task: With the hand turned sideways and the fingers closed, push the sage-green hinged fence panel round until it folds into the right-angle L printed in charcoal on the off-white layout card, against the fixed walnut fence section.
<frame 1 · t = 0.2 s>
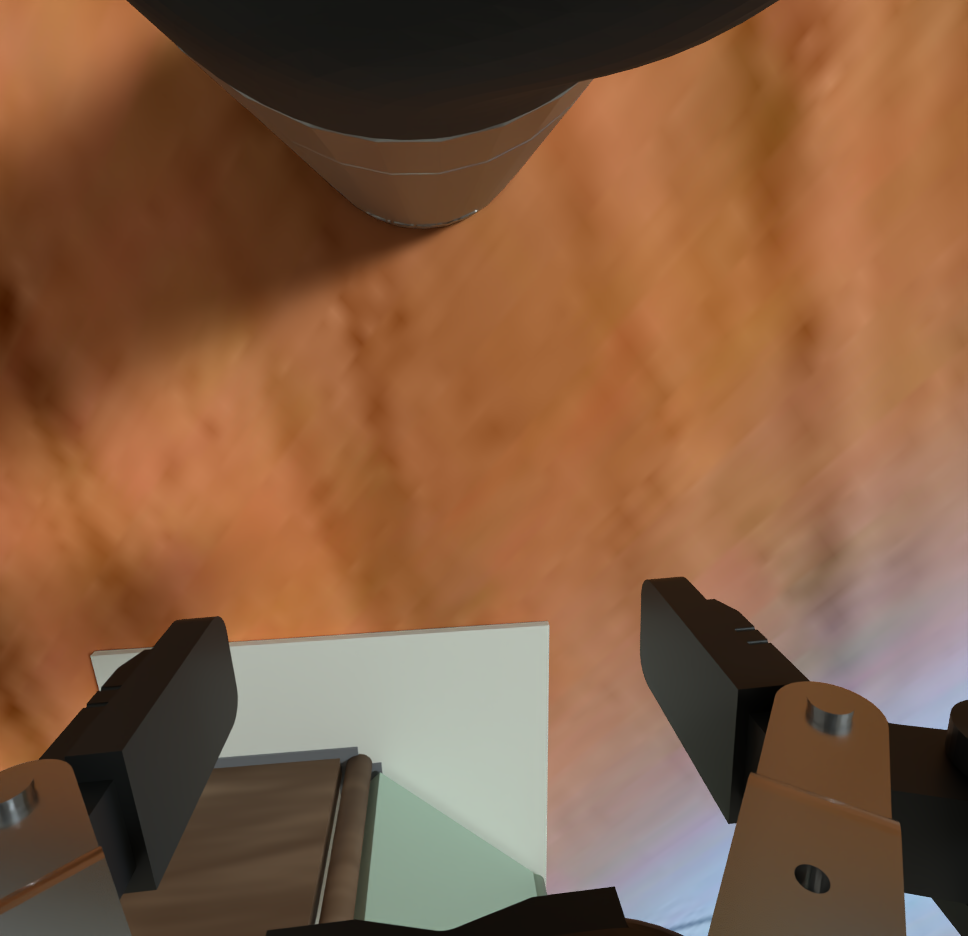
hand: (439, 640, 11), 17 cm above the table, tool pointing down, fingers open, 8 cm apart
fence fixed: (211, 886, 26), on the layout card
layout card: (348, 808, 34), on the table
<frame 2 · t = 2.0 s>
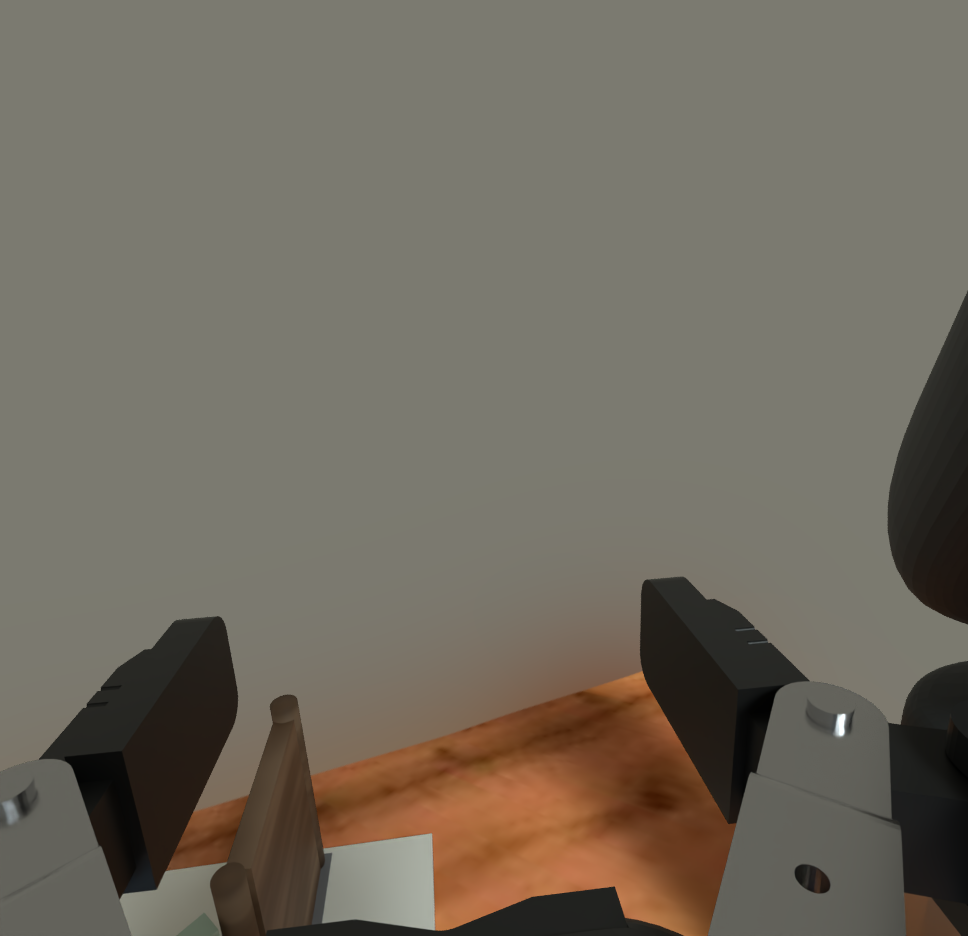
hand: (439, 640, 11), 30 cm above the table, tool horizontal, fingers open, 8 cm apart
fence fixed: (279, 868, 33), on the layout card
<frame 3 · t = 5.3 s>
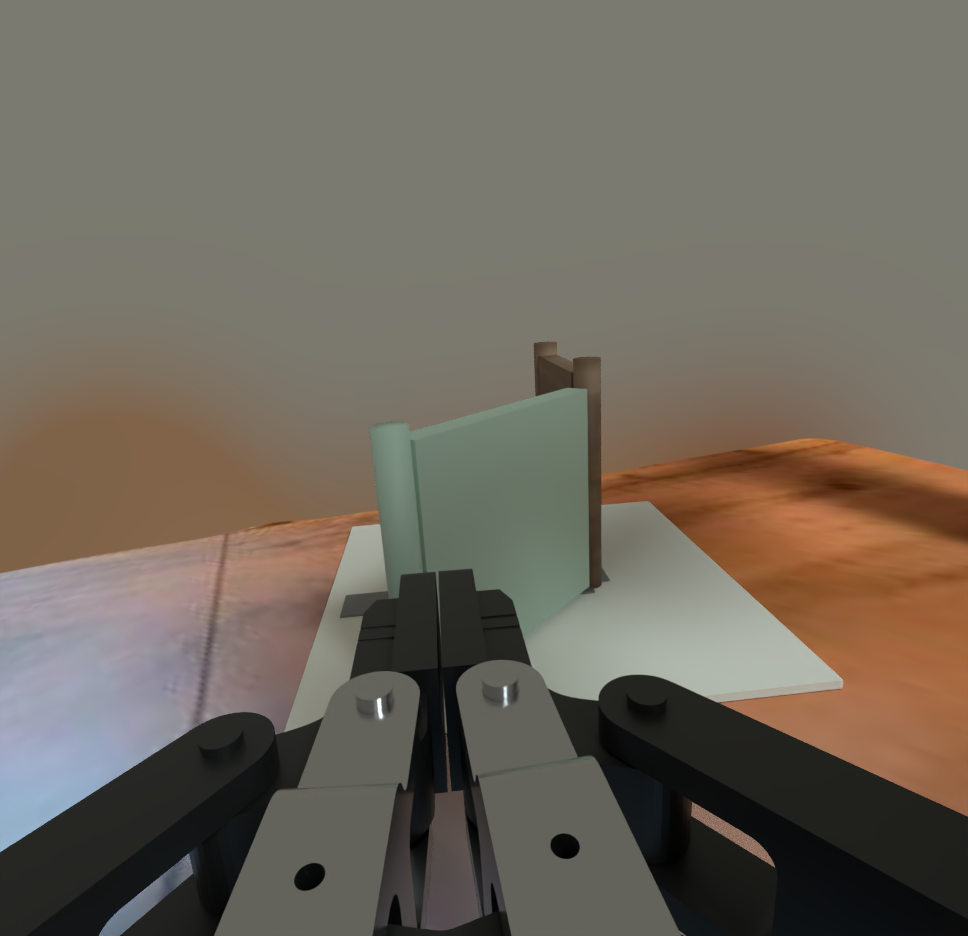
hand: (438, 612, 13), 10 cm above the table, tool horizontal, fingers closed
fence gate: (501, 525, 27), point 7 cm above the table, hinge at 45.0°
fence fixed: (564, 451, 38), on the layout card
layout card: (526, 587, 35), on the table
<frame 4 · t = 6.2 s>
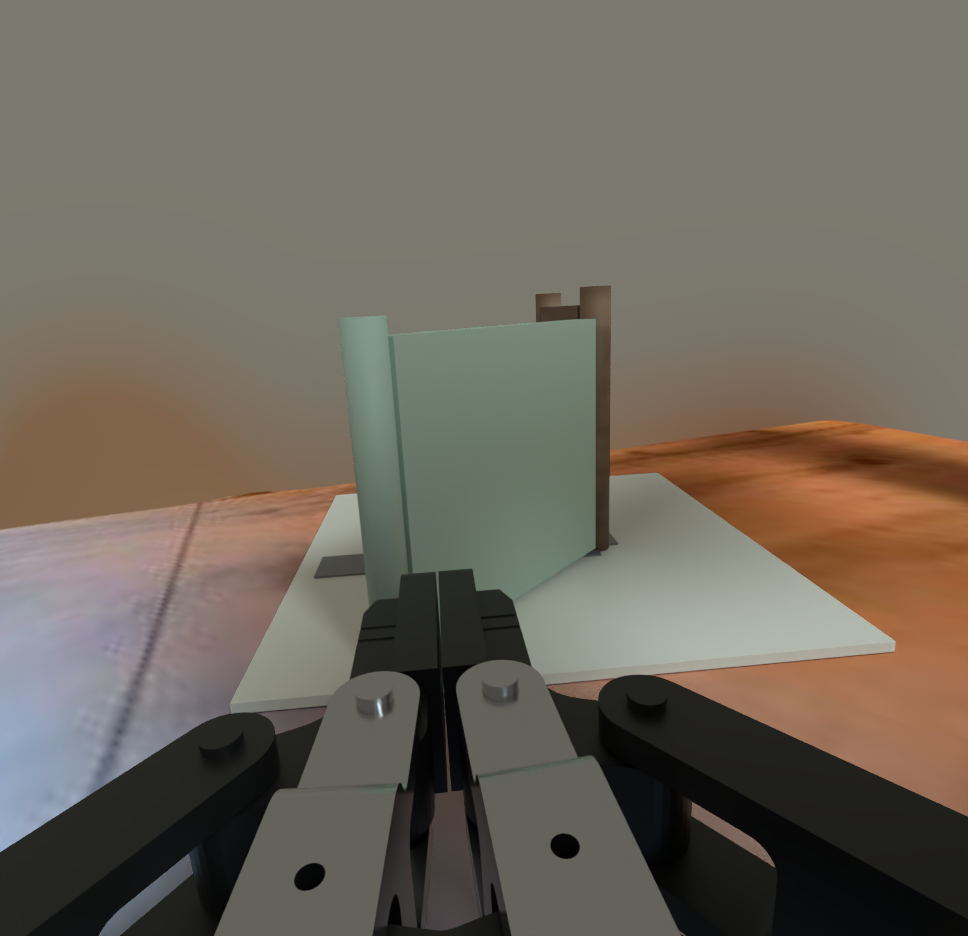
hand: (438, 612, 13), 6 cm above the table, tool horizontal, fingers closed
fence gate: (496, 462, 23), point 7 cm above the table, hinge at 45.0°
fence fixed: (568, 406, 35), on the layout card
layout card: (524, 551, 31), on the table
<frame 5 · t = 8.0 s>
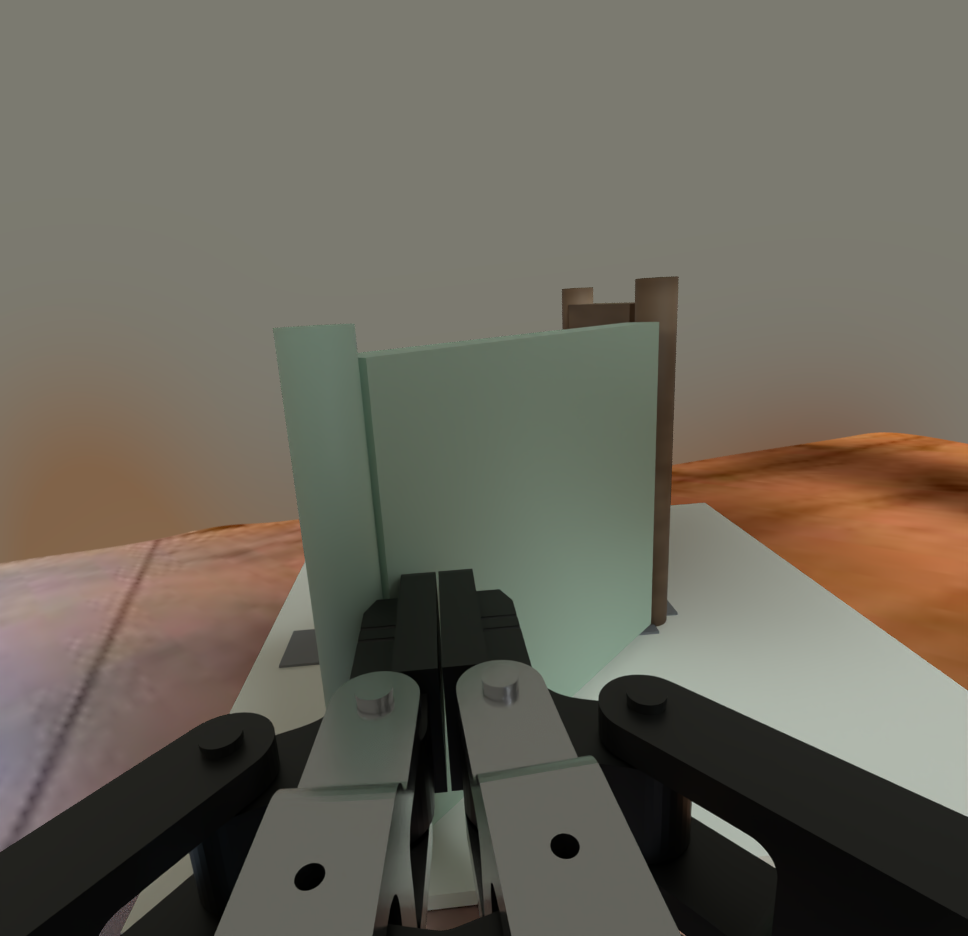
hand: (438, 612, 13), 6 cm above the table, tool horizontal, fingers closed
fence gate: (526, 529, 16), point 7 cm above the table, hinge at 44.2°, touching gripper
fence fixed: (607, 429, 27), on the layout card
layout card: (555, 621, 24), on the table
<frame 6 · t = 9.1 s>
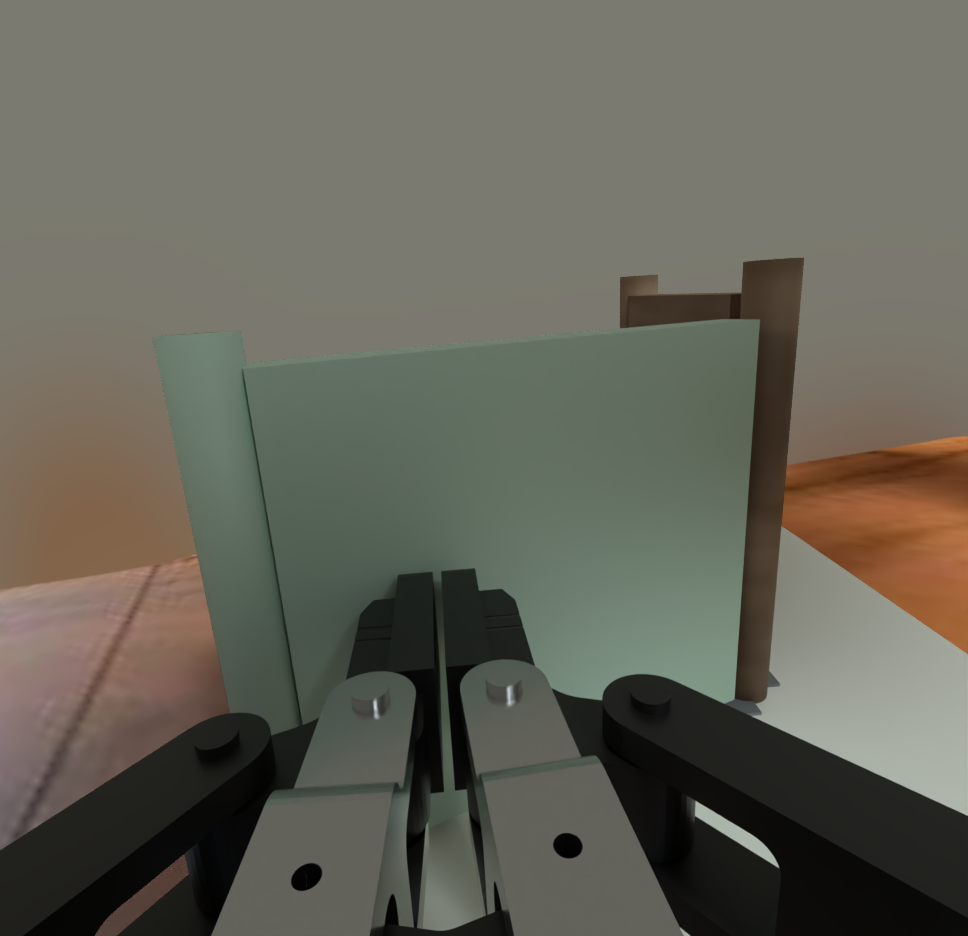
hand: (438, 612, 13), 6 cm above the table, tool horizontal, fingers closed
fence gate: (518, 564, 14), point 7 cm above the table, hinge at 21.5°, touching gripper
fence fixed: (681, 448, 23), on the layout card
layout card: (623, 689, 20), on the table
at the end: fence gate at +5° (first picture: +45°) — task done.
